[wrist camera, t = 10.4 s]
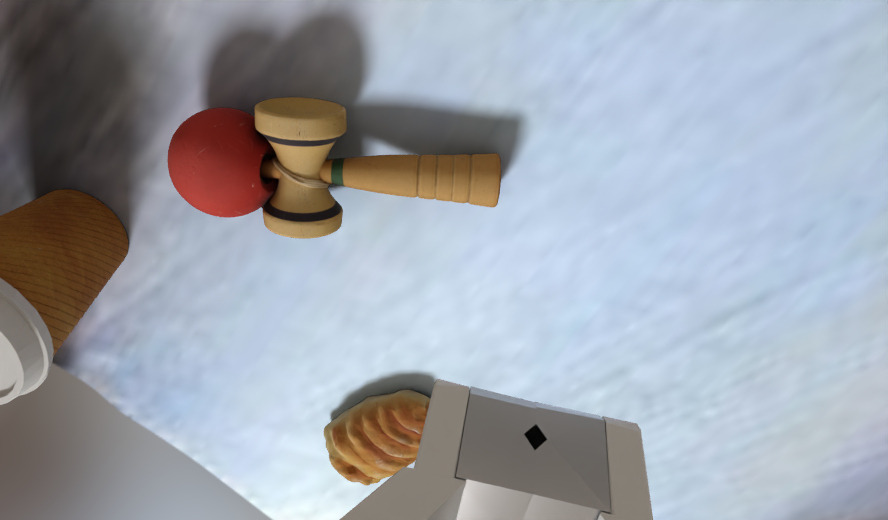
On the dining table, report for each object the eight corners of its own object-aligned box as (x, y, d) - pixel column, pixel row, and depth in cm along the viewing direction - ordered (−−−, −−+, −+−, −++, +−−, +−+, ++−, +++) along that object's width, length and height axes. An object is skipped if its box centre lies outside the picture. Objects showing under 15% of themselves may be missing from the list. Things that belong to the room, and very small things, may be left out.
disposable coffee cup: (-16, 193, 42) (-190, 301, 32) (87, 145, 39) (-72, 248, 29) (80, 302, 46) (-47, 427, 36) (179, 266, 43) (69, 392, 33)
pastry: (397, 364, 46) (386, 403, 42) (464, 415, 48) (458, 455, 44) (322, 421, 50) (307, 460, 47) (386, 465, 52) (376, 505, 49)
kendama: (502, 81, 35) (170, 67, 34) (510, 147, 30) (128, 132, 30) (489, 192, 40) (202, 182, 39) (494, 262, 35) (170, 251, 35)
